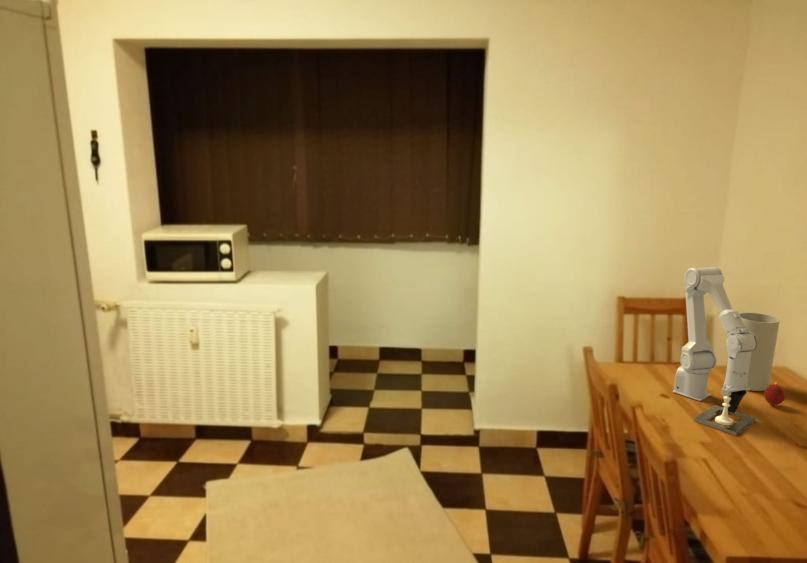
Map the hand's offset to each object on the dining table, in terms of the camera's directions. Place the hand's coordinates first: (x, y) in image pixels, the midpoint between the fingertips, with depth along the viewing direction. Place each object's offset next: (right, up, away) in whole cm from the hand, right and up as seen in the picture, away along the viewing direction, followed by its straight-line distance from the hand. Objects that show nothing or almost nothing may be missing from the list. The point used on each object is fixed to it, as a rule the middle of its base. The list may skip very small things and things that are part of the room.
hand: (731, 411), depth 175 cm
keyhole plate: (-3, -3, -2) cm, 5 cm away
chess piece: (-4, -3, -2) cm, 5 cm away
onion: (+19, 0, +9) cm, 21 cm away
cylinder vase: (+21, +3, +25) cm, 33 cm away
